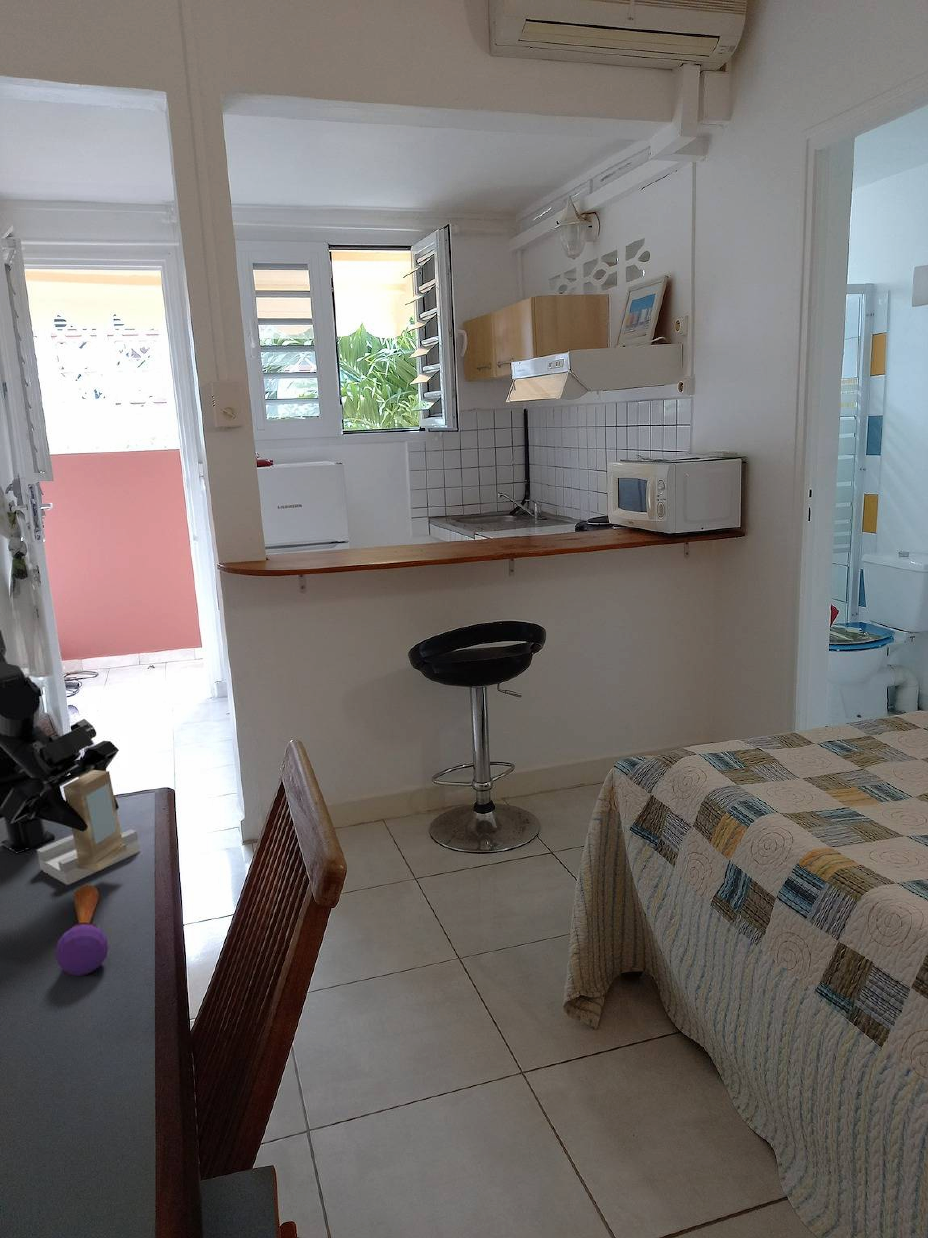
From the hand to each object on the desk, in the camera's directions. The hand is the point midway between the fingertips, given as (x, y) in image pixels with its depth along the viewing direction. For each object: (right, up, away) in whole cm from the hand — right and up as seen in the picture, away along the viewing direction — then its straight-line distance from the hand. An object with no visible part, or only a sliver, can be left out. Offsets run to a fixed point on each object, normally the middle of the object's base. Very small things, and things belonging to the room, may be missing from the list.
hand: (101, 819), depth 128 cm
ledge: (-6, -9, +10) cm, 14 cm away
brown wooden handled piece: (+3, -14, -13) cm, 19 cm away
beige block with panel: (-1, -6, +2) cm, 7 cm away
